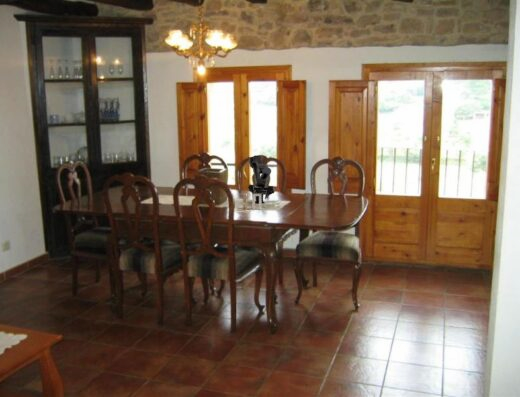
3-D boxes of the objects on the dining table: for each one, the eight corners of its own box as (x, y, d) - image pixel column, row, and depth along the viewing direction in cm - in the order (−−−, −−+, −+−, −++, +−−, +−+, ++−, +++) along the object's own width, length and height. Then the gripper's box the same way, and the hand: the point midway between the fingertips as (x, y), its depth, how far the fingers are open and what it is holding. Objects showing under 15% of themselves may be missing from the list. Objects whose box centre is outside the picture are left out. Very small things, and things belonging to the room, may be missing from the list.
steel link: (253, 210, 398) (253, 193, 395) (261, 210, 396) (261, 193, 394) (252, 210, 396) (252, 193, 394) (260, 211, 395) (260, 194, 392)
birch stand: (239, 210, 397) (239, 192, 395) (253, 211, 394) (253, 193, 392) (235, 213, 387) (234, 195, 385) (248, 214, 384) (248, 196, 382)
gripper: (249, 173, 405) (244, 191, 396) (273, 175, 399) (269, 193, 391) (252, 182, 414) (247, 200, 405) (276, 184, 408) (272, 201, 400)
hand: (259, 198), depth 400 cm, fingers open, 9 cm apart
